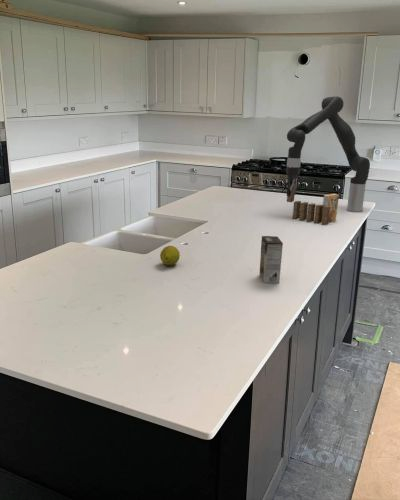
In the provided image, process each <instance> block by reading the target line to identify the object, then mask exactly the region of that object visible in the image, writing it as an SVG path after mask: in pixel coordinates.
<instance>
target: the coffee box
mask: <svg viewBox="0 0 400 500" xmlns="http://www.w3.org/2000/svg"><path fill="white" fill-rule="evenodd" d="M283 244H284V243H283V241H282V240H281V239H280V238H279V236H275V235H274V236H272V235H262V236H261V244H260V260H259V272H258V273H259V277H260V279H261V280H262V283H263V284H279V283H280V279H281V270H282V268H281V267H282V258H283V246H284V245H283Z"/></svg>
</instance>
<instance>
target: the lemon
mask: <svg viewBox="0 0 400 500" xmlns="http://www.w3.org/2000/svg"><path fill="white" fill-rule="evenodd" d="M159 254H160V256H159V257H160V261H161V263H163V264H164V265H166V266H173V265H175V264H177V263H178V261H179V260H180V255H181V254H180V250H179V249H178V248H177V246H174V245H167V246H165V247H164V248H163V249H162V250H161V251H160V253H159Z"/></svg>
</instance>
